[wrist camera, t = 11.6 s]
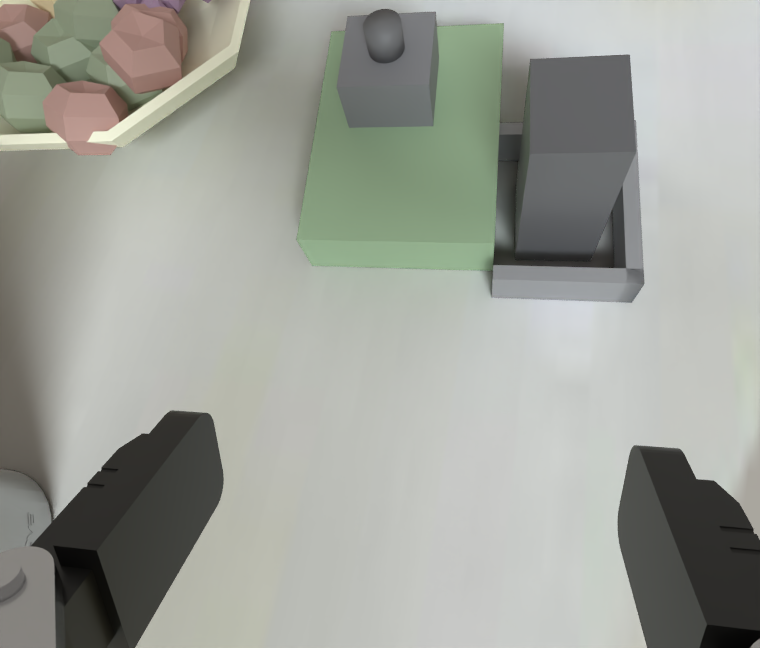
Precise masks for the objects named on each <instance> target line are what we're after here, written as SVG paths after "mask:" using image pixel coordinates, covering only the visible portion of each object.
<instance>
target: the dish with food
mask: <svg viewBox="0 0 760 648" xmlns="http://www.w3.org/2000/svg"><path fill="white" fill-rule="evenodd" d="M249 4H250V0H0V151H16V150H49V149H71V150H73V151H74V152H75V153H76V154H78V155H111V154H112V152H113V151H114V150H115V148H116V147H124V146H126V145H127V144H129V143H130V142H132V141H133V140H134V139H136V138H137V137H139V136H140V135H141V134H143V133H144V132H146V131H147V130H148V129H150V128H151V127H153V126H154V125H155V124H157V123H158V122H160V121H161V120H162V119H164V118H165V117H167V116H168V115H170V114H171V113H172V112H174V111H175V110H177V109H178V108H179V107H181V106H182V105H184V104H185V103H186V102H188V101H189V100H191V99H192V98H193V97H195V96H196V95H198V94H199V93H200V92H202V91H203V90H205V89H206V88H208V87H209V86H210V85H212V84H213V83H215V82H216V81H217V80H219V79H220V78H222V77H223V76H224V75H226V74H227V73H229V72H230V71H231V70H233V69H234V68H235V66H236V62H237V57H238V53H239V49H240V44H241V40H242V35H243V31H244V26H245V22H246V17H247V13H248V9H249Z"/></svg>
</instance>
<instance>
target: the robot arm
mask: <svg viewBox="0 0 760 648" xmlns="http://www.w3.org/2000/svg"><path fill="white" fill-rule="evenodd" d="M222 489H223V469H222V464H221V459H220V453H219V448H218V443H217V437H216V432H215V427H214V422H213V419H212V417H211V415H210V414H208V413H200V412H186V411H170V412H168V413H167V414H166V415H165V416H164V417H163V418H162V419H161V421H160V422H159V423H158V424H157V425H156V426H155V428H154V429H153V430H152V431H151V432H150V433H149V434H141V435H140V436H138V437H136V438H135V439H133V440H132V441H130V442H129V443H127V444H125V445H124V446H122V447H121V448H119V449H118V450H117V451H116V452H115V453H114V454H113V456H112V457H111V458H110V459H109V460H108V461H107V462H106V463H105V464H104V465H103V467H102V470H101V472H100V471H98V472H97V473H96V474H95V475H94V476H93V478H92V479H91V480H90V481H89V482H88V485H87V487H84V488H83V489H82V490H81V491H80V492H79V493H78V494H77V495H76V496H75V497H74V499H73V500H72V501H71V502H70V503H69V504H68V505H67V506H66V507H65V508H64V510H63V511H62V512H61V513H60V514H59V515H58V516H57V517H56V518H55V520H54V521H53V522H52V523H51V513H50V508H49V503H48V501H47V499H46V496H45V494H44V492H43V490H42V489H41V488H40V487H39V485H38V484H37V483H36V482H35V481H34V480H32V479H31V478H30V477H28V476H27V475H25V474H22V473H20V472H17V471H13V470H6V469H0V648H135V647H136V645H137V643H138V641H139V640H140V638H141V636H142V635H143V633H144V631H145V629H146V628H147V626H148V624H149V622H150V621H151V619H152V617H153V616H154V614H155V612H156V610H157V609H158V607H159V605H160V604H161V602H162V600H163V598H164V597H165V595H166V593H167V591H168V590H169V588H170V586H171V585H172V583H173V581H174V579H175V578H176V576H177V574H178V573H179V571H180V569H181V567H182V566H183V564H184V562H185V560H186V559H187V557H188V555H189V554H190V552H191V550H192V548H193V547H194V545H195V543H196V541H197V540H198V538H199V536H200V535H201V533H202V531H203V529H204V528H205V526H206V524H207V523H208V521H209V519H210V517H211V516H212V514H213V512H214V510H215V509H216V507H217V505H218V503H219V501H220V498H221V494H222ZM618 537H619V544H620V548H621V552H622V556H623V560H624V563H625V567H626V571H627V574H628V578H629V582H630V586H631V589H632V593H633V597H634V600H635V604H636V608H637V611H638V615H639V619H640V623H641V626H642V630H643V634H644V637H645V641H646V645H647V648H760V540H759V538H758V536H757V534H754V532H753V527H752V526H751V524H750V522H749V520H748V518H747V516H746V515H745V513H744V511H743V509H742V507H741V506H740V504H739V503H738V502H737V501H736V500H735V499H734V498H733V497H732V496H730V495H729V494H728V493H727V492H726V491H725V490H724V489H723V488H722V487H720V486H719V485H718V484H717V483H716V482H715V481H711V480H698V479H696V477H695V475H694V473H693V471H692V469H691V467H690V465H689V463H688V461H687V459H686V457H685V455H684V453H683V452H682V450H680V449H678V448H664V447H650V446H637V445H635V446H633V447H632V449H631V452H630V455H629V460H628V465H627V470H626V475H625V480H624V485H623V490H622V495H621V500H620V506H619V511H618Z"/></svg>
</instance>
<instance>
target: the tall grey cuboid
mask: <svg viewBox="0 0 760 648" xmlns="http://www.w3.org/2000/svg"><path fill="white" fill-rule="evenodd" d="M635 154H636V140H635V125H634V110H633V96H632V81H631V66H630V55H610V56H589V57H568V58H546V59H530V68H529V76H528V85H527V94H526V102H525V111H524V120H523V128H522V137H521V146H520V155H519V163H518V172H517V181H516V215H515V260H539V261H591V259H592V256H593V254H594V251H595V249H596V247H597V244H598V242H599V240H600V237H601V235H602V232H603V230H604V228H605V225H606V223H607V220H608V218H609V216H610V213H611V211H612V209H613V206H614V204H615V201H616V199H617V197H618V194H619V192H620V190H621V187H622V185H623V182H624V180H625V178H626V175H627V173H628V170H629V168H630V166H631V163H632V161H633V159H634V156H635Z"/></svg>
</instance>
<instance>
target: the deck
mask: <svg viewBox="0 0 760 648" xmlns="http://www.w3.org/2000/svg"><path fill="white" fill-rule="evenodd" d="M503 30H504V23H500V24H479V25H459V26H438V27H437V22H436V12H420V13H401V14H398V13H396V12H395V11H393V10H389V9H381V10H377V11H375V12H373V13H371V14H370V15H363V16H348V17H347V24H346V30H345V31H334V32H331V38H330V44H329V50H328V56H327V62H326V68H325V74H324V80H323V85H322V91H321V97H320V103H319V109H318V115H317V121H316V127H315V133H314V139H313V145H312V151H311V157H310V163H309V168H308V174H307V180H306V186H305V192H304V198H303V204H302V210H301V216H300V222H299V228H298V234H297V241H298V243H299V245H300V246H301V248H302V250H303V251H304V253H305V255H306V256H307V258H308V260H309V261H310V263H311V264H312V266H341V267H377V268H413V269H449V270H485V271H493V278H492V297H494V298H521V299H549V300H577V301H605V302H632V301H633V300H634V298H635V297H636V295H637V294H638V293H639V291H640V290H641V288H642V287H643V285H644V268H643V249H642V230H641V210H640V191H639V172H638V152H637V133H636V120H634V125H635V140H636V154H635V156H634V159H633V161H632V163H631V166H630V168H629V170H628V173H627V175H626V178H625V180H624V182H623V185H622V187H621V190H620V192H619V194H618V197H617V199H616V201H615V204H614V206H613V239H614V268H590V267H551V266H513V265H493V258H494V243H495V219H496V195H497V172H498V161H519V155H520V146H521V137H522V128H523V122H517V123H500V101H501V77H502V53H503Z"/></svg>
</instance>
